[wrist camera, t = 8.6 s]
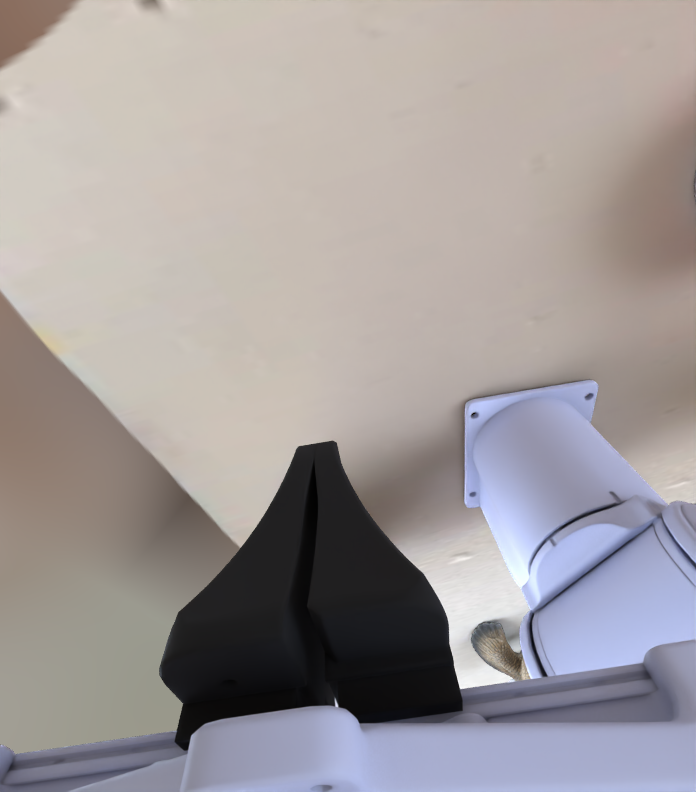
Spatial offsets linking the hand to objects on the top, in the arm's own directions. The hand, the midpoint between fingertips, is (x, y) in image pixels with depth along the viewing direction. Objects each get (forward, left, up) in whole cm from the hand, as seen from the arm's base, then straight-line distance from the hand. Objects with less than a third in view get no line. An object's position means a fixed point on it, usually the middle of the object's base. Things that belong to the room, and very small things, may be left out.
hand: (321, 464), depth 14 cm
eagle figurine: (-36, -13, -10) cm, 39 cm away
